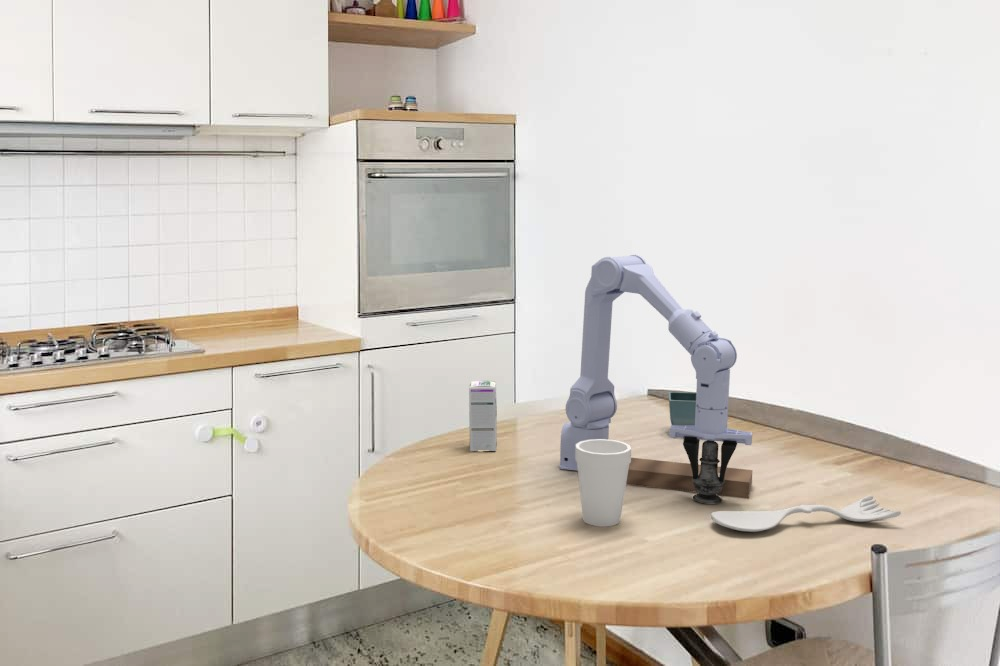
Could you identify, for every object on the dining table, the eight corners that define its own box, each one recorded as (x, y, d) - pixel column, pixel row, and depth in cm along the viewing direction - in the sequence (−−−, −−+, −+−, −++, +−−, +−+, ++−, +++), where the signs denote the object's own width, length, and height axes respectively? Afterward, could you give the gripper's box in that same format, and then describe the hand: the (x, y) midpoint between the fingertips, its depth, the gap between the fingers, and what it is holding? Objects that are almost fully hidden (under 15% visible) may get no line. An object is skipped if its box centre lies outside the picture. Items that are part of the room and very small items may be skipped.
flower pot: (667, 438, 213) (669, 399, 212) (667, 428, 222) (668, 391, 220) (706, 440, 212) (708, 401, 210) (705, 430, 220) (706, 393, 219)
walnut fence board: (620, 483, 180) (620, 466, 180) (628, 471, 188) (628, 455, 187) (748, 498, 173) (749, 480, 172) (751, 485, 180) (752, 468, 180)
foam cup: (564, 514, 163) (566, 442, 161) (611, 507, 167) (613, 437, 165) (590, 533, 155) (592, 457, 153) (639, 525, 158) (641, 451, 156)
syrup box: (496, 452, 201) (496, 386, 198) (468, 452, 201) (468, 385, 198) (496, 445, 206) (497, 380, 204) (469, 444, 206) (470, 380, 204)
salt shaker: (723, 505, 168) (727, 441, 166) (690, 502, 169) (694, 438, 167) (723, 495, 174) (727, 432, 172) (691, 492, 175) (694, 430, 173)
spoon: (901, 529, 159) (902, 509, 158) (724, 541, 152) (725, 520, 152) (870, 511, 167) (872, 492, 167) (702, 521, 161) (703, 502, 161)
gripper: (668, 407, 167) (665, 480, 170) (751, 414, 163) (747, 489, 165) (674, 399, 174) (671, 469, 176) (754, 405, 169) (750, 478, 171)
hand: (708, 478), depth 171 cm, fingers closed on salt shaker, 4 cm apart
